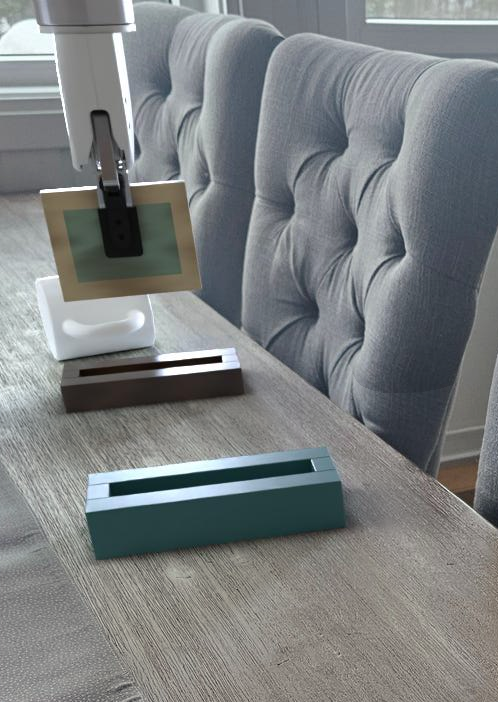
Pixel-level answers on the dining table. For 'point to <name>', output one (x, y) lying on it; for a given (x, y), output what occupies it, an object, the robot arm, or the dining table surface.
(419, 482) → the dining table surface
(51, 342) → the white bread box
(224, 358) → the rack
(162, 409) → the dining table surface
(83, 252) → the frame
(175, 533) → the holder
